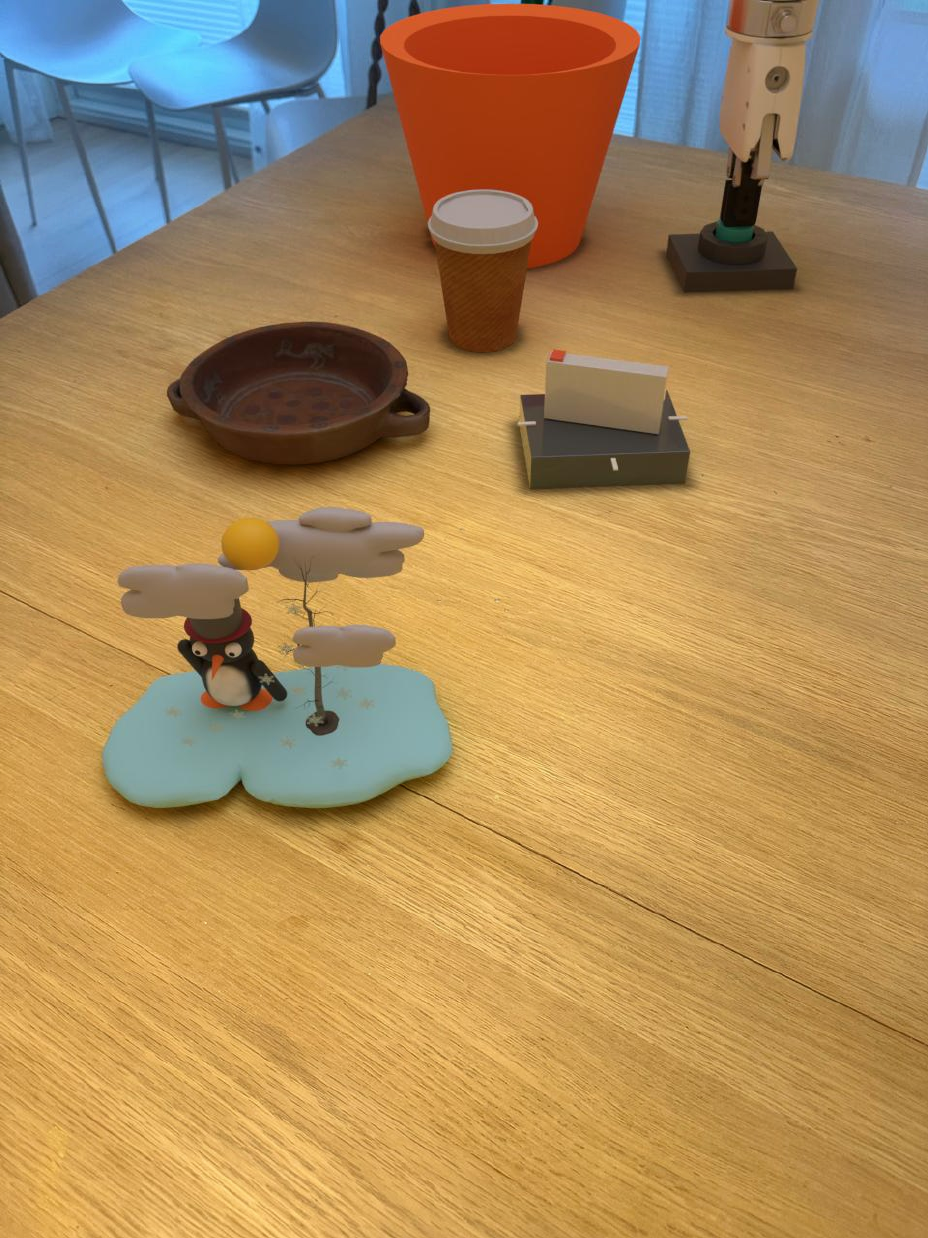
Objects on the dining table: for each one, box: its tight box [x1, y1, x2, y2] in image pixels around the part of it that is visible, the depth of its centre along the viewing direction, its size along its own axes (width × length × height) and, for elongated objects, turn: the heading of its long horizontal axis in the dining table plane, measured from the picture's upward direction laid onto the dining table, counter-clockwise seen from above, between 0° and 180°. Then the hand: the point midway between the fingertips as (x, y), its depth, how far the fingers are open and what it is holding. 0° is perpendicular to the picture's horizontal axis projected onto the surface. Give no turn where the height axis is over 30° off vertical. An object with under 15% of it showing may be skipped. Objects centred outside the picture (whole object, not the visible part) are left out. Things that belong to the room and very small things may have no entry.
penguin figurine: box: [101, 506, 454, 809], centre depth 57 cm, size 20×11×15 cm, turn 90°
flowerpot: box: [379, 3, 641, 269], centre depth 108 cm, size 25×25×20 cm
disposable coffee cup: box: [427, 190, 538, 353], centre depth 94 cm, size 10×10×12 cm
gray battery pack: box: [544, 349, 670, 434], centre depth 80 cm, size 9×2×5 cm, turn 74°
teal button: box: [715, 218, 754, 242], centre depth 105 cm, size 4×4×2 cm
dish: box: [166, 321, 431, 465], centre depth 86 cm, size 18×22×5 cm
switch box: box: [665, 220, 798, 293], centre depth 107 cm, size 11×9×4 cm
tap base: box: [517, 389, 691, 490], centre depth 83 cm, size 13×13×3 cm
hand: (737, 222), depth 104 cm, fingers closed
